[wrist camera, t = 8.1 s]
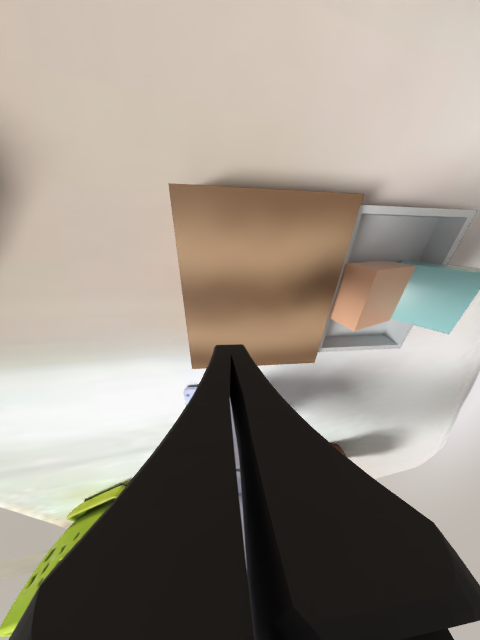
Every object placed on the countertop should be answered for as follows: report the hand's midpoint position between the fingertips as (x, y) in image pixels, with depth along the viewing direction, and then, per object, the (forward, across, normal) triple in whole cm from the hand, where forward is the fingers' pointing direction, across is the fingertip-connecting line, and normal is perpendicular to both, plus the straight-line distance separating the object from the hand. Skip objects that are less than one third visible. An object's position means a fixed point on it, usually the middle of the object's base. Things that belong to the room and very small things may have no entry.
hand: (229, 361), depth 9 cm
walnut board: (+10, -3, -1) cm, 10 cm away
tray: (+10, -14, -1) cm, 17 cm away
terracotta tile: (+8, -12, -1) cm, 15 cm away
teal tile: (+6, -17, -1) cm, 18 cm away
